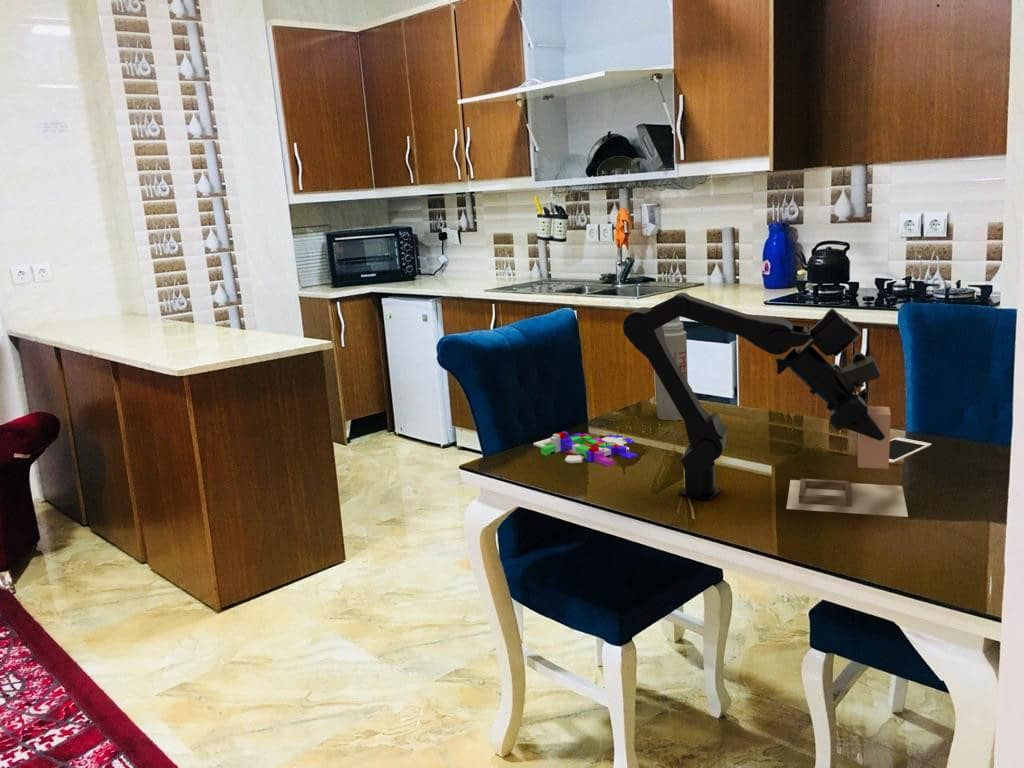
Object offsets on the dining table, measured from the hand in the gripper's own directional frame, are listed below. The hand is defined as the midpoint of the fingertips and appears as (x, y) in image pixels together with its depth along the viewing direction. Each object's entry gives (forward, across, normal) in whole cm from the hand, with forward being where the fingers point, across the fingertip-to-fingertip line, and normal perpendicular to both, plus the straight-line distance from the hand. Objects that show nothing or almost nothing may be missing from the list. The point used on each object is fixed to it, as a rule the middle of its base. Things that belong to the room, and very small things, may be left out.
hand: (882, 434), depth 149 cm
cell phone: (+13, +32, +7) cm, 35 cm away
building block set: (-33, +24, +54) cm, 68 cm away
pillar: (+3, 0, +5) cm, 6 cm away
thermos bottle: (-23, +52, +43) cm, 71 cm away
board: (+5, 0, +14) cm, 15 cm away
